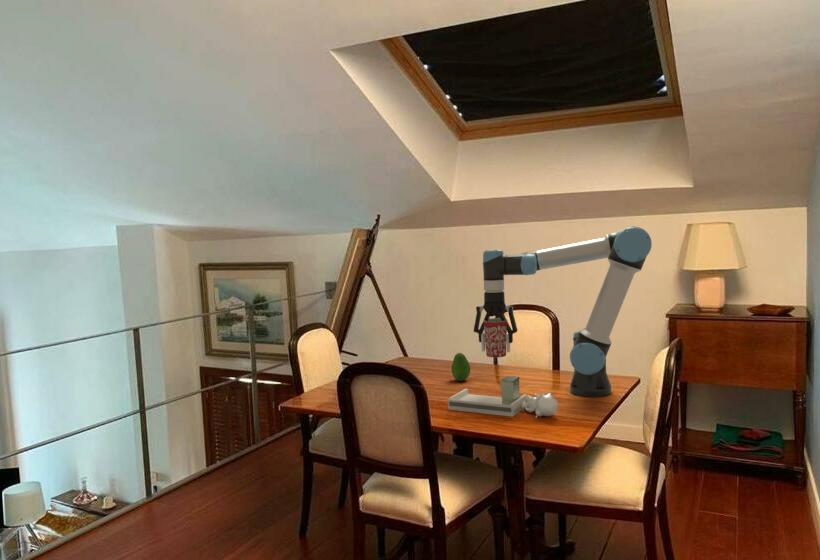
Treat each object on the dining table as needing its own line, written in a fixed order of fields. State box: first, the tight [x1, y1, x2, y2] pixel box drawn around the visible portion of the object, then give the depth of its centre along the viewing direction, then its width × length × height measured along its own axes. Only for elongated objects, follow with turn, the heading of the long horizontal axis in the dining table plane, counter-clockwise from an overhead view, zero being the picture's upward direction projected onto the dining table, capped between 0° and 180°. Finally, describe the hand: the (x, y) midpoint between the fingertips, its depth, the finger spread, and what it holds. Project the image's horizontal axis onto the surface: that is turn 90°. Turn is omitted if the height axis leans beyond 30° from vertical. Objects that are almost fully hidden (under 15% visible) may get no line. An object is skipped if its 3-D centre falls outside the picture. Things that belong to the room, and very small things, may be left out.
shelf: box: [447, 388, 528, 418], centre depth 218 cm, size 24×15×4 cm, turn 60°
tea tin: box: [500, 375, 521, 405], centre depth 214 cm, size 5×6×9 cm
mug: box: [482, 317, 508, 358], centre depth 230 cm, size 13×9×14 cm
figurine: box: [521, 391, 559, 419], centre depth 208 cm, size 11×7×15 cm
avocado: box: [451, 352, 471, 382], centre depth 260 cm, size 8×8×12 cm
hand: (496, 351), depth 231 cm, fingers closed on mug, 9 cm apart
